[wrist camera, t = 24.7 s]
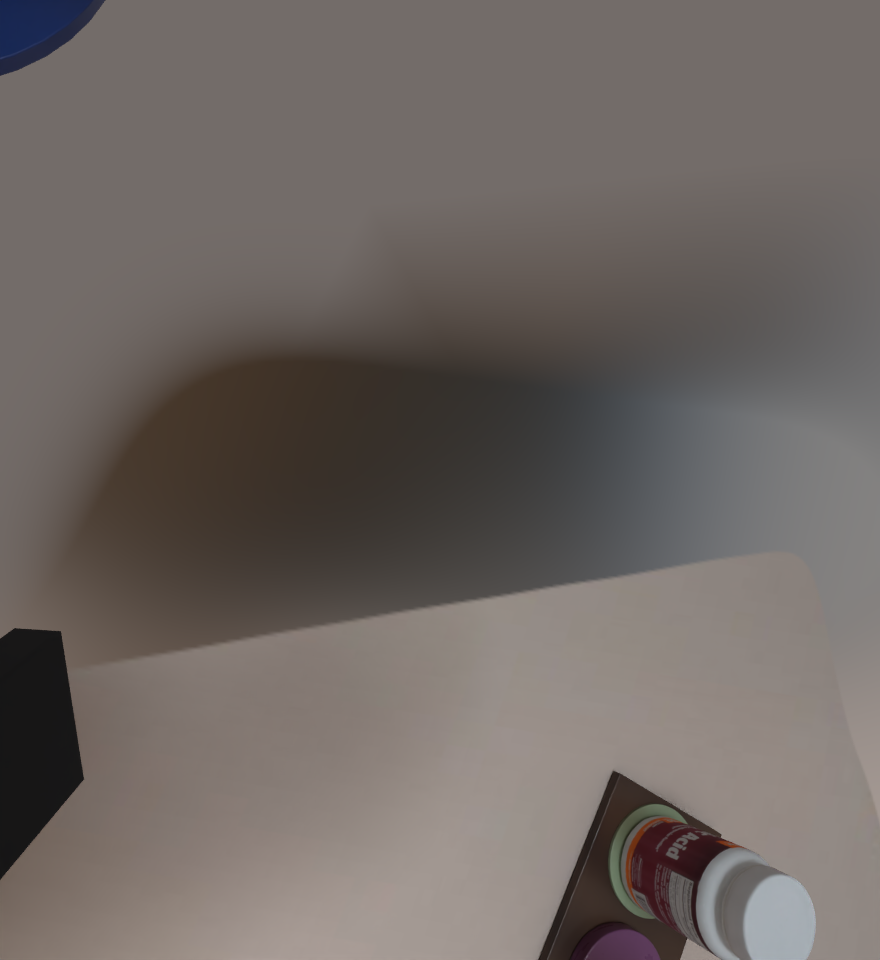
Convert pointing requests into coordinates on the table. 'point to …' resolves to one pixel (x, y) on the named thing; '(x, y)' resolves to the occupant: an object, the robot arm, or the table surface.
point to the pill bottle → (716, 893)
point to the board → (613, 887)
